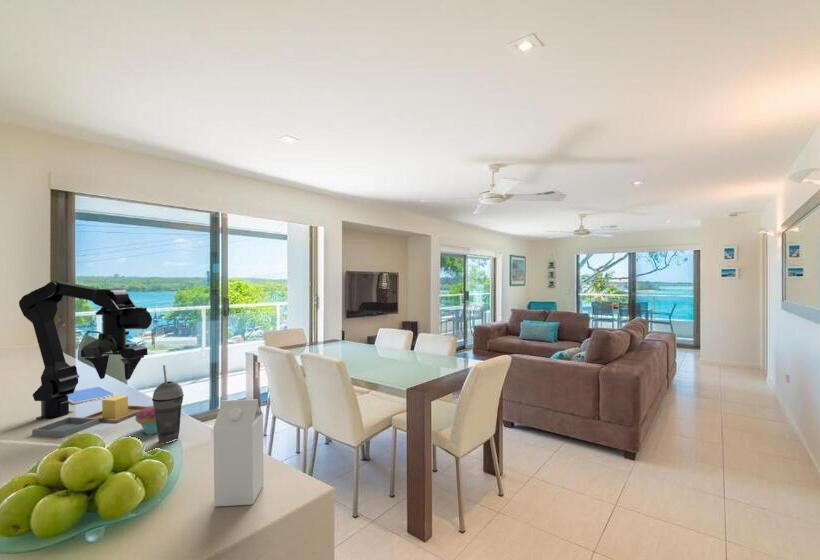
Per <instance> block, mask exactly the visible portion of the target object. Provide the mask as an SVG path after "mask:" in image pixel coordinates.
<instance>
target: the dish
mask: <svg viewBox="0 0 820 560" xmlns="http://www.w3.org/2000/svg"><path fill="white" fill-rule="evenodd" d="M99 424H100V422H99V419H97V418H83V417H81V416H80V417H79V416H68V417H65V418H63V419H59V420H56V421H54V422H51V423H49V424H48V423H47V424H45V425H43V426H42V425H41V426H39V427H36V428H34V429H32V431H31V436H41V437H51V438H52V437H53V438H65V437H68V436H71V435H73V434H75V433H78V432H81V431H83V430H86V429H89V428H91V427H94V426H96V425H99Z"/></svg>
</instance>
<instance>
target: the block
mask: <svg viewBox="0 0 820 560" xmlns="http://www.w3.org/2000/svg"><path fill="white" fill-rule="evenodd" d="M101 401H102V402H101V404H102V405H101V406H102V410H101V411H102V415H103V418H114V419H115V418H118V417H120V416H123V415H126V414H128V405H129V395H114V396H111V397H108V398H104V399H101Z"/></svg>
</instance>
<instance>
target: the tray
mask: <svg viewBox="0 0 820 560" xmlns="http://www.w3.org/2000/svg"><path fill="white" fill-rule="evenodd" d="M150 406H151V405H148V406H147V405H132V404H131V405H129V404H128V414H126V415H123V416H120V417H118V418H115V419H114V418H103V415H102V410H101V411H97V412H95V413H92V414H90V415H87V416H84V417H82V418H97V419H99V423H114V424H115V423H116V424H118V423H122V422H124V421H126V420H128V419H130V418H133V417H136V415H137V414H138V413H139V412H140V411H141V410H142V409H144V408H146V407H150Z"/></svg>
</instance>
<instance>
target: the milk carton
mask: <svg viewBox="0 0 820 560" xmlns="http://www.w3.org/2000/svg"><path fill="white" fill-rule="evenodd" d="M219 403H220V405H219V409H218V412H217V416H216V419H215V422H214V424H213V492H214V494H213V495H214V497H213V498H214V501H213V502H214V504H213V505H214V507H229V506H233V507H234V506H248V505H249V506H250V505H254V503H255V501H256V499H257V497H258V496H259V494H260V492H261V490H262V489H263V487H264V483H265V482H264V481H265V480H264V479H265V477H264V473H265V472H264V413H263V411H262V410H261V408H260V405H259V399H257V398H255V399H229V400H227V399H226V400H225V399H224V400H220V401H219Z"/></svg>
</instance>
